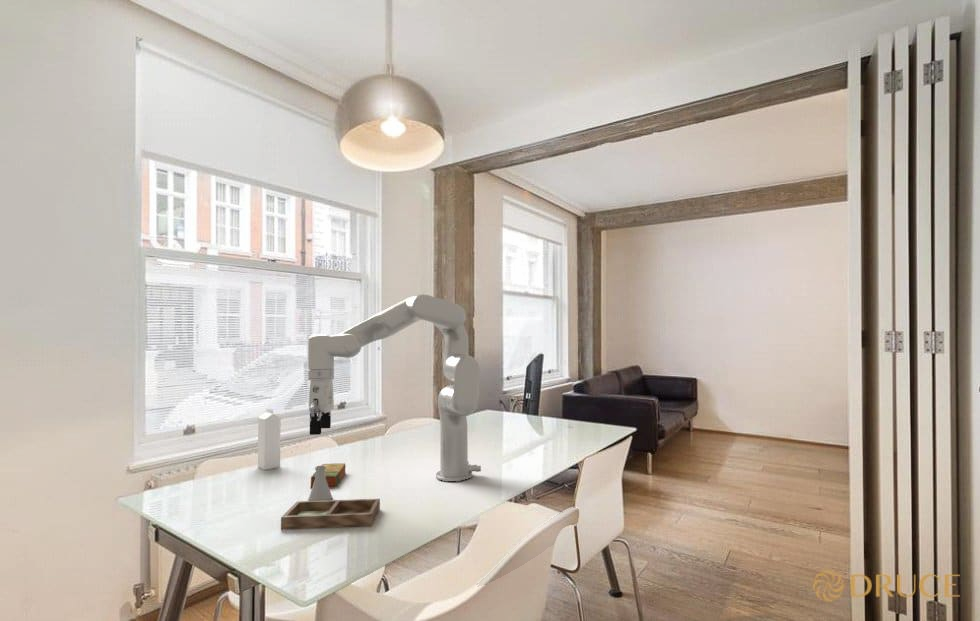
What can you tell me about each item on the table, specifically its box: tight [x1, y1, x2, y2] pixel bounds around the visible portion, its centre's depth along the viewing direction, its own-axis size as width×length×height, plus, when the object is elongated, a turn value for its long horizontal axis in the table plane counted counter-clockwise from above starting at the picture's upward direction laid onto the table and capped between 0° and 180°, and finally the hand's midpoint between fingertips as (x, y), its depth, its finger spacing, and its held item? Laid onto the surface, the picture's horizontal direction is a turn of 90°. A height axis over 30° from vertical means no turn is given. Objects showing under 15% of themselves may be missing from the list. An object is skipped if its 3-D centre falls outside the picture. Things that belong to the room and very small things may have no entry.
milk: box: [257, 408, 282, 471], centre depth 184 cm, size 6×6×22 cm
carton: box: [310, 462, 347, 489], centre depth 165 cm, size 8×16×4 cm, turn 6°
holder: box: [280, 498, 381, 530], centre depth 129 cm, size 23×12×3 cm, turn 93°
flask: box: [307, 464, 334, 501], centre depth 145 cm, size 7×7×10 cm
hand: (320, 431), depth 146 cm, fingers open, 9 cm apart
